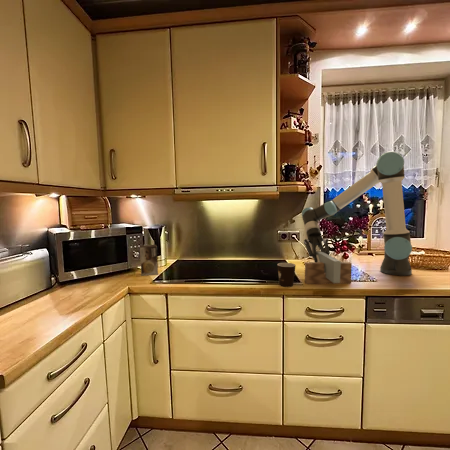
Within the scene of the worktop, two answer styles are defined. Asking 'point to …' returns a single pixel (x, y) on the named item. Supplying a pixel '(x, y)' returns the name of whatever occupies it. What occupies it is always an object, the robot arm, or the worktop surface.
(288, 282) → the coffee mug
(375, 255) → the worktop surface
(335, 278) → the grey plain narrow board
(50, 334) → the worktop surface
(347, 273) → the walnut slotted board
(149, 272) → the coffee box
